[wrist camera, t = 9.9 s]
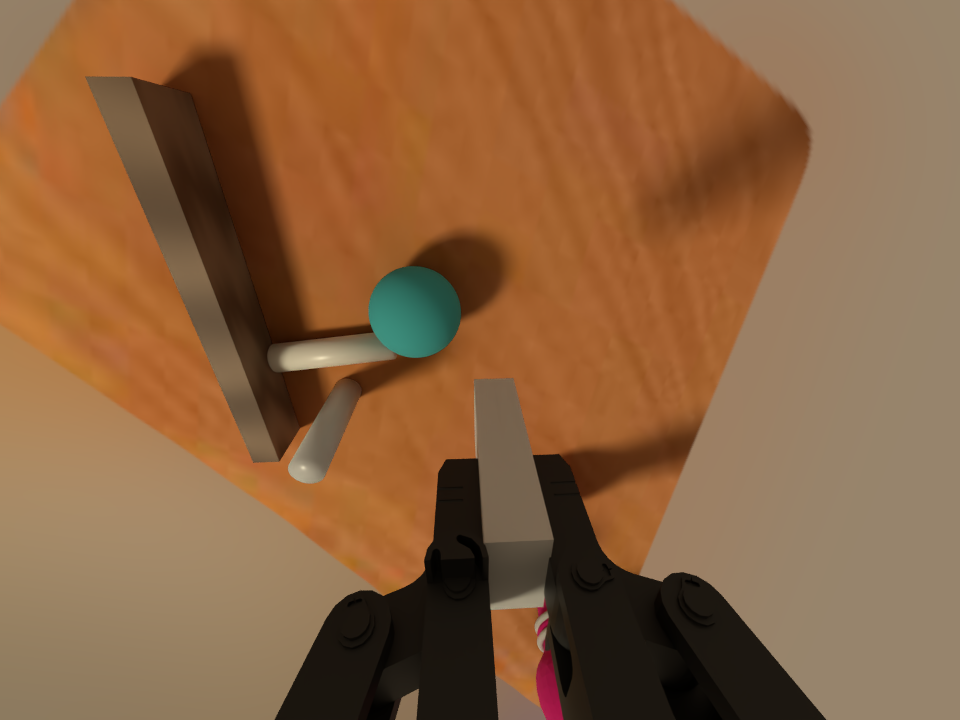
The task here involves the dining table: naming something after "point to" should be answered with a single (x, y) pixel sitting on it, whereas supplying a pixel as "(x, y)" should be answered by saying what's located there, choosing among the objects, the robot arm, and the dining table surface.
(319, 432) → the grey pin
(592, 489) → the dining table surface
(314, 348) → the ivory pin
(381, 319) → the ball
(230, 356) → the back wall
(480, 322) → the dining table surface
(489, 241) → the dining table surface
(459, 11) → the dining table surface
